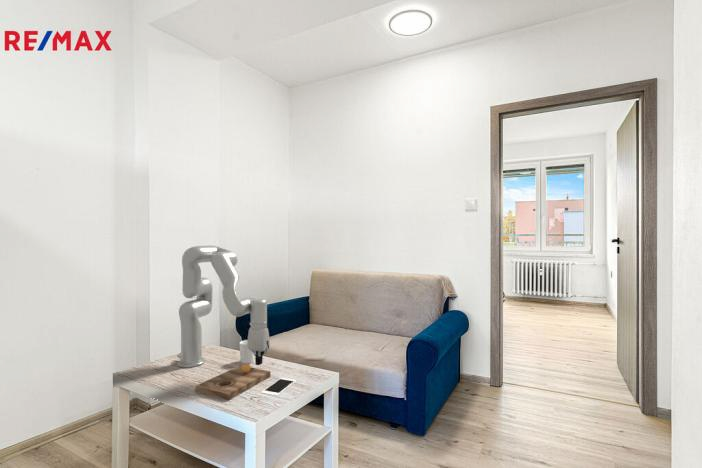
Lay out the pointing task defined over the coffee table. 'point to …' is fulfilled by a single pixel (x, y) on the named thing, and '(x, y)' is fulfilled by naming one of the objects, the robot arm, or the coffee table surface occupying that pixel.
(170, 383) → the coffee table surface
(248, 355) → the white cup
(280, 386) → the cell phone
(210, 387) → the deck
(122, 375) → the coffee table surface
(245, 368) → the ball
